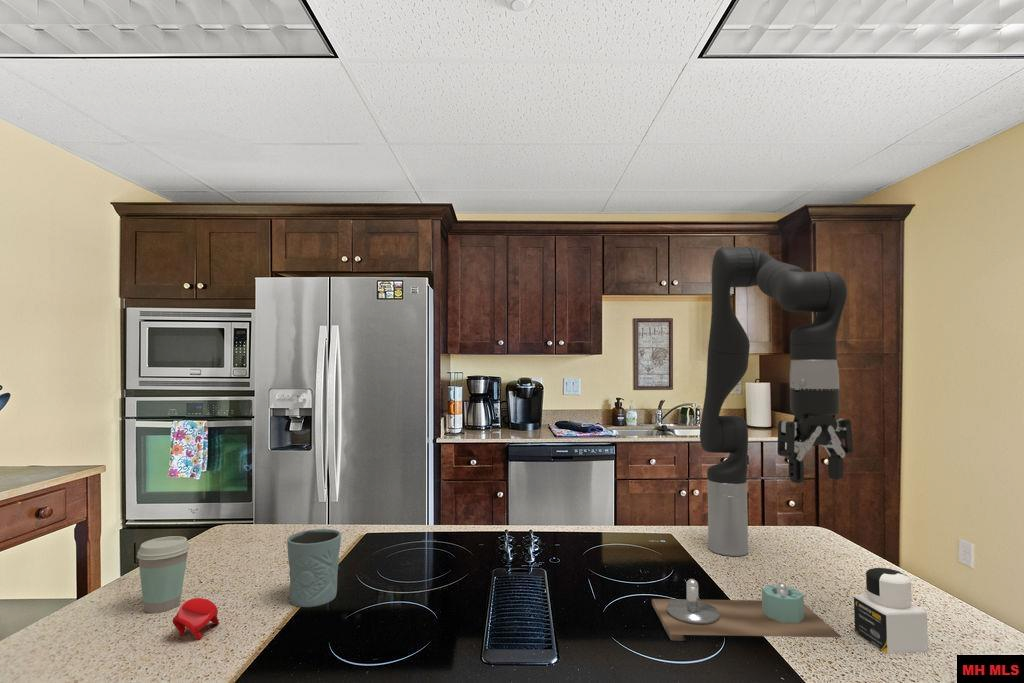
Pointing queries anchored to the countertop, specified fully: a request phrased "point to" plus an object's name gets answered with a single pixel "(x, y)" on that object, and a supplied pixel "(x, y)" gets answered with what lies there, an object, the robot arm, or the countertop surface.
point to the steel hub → (693, 608)
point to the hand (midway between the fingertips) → (816, 480)
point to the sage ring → (783, 605)
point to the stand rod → (782, 589)
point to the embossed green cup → (313, 566)
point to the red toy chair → (195, 616)
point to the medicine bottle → (890, 613)
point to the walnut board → (742, 622)
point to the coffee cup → (162, 572)
